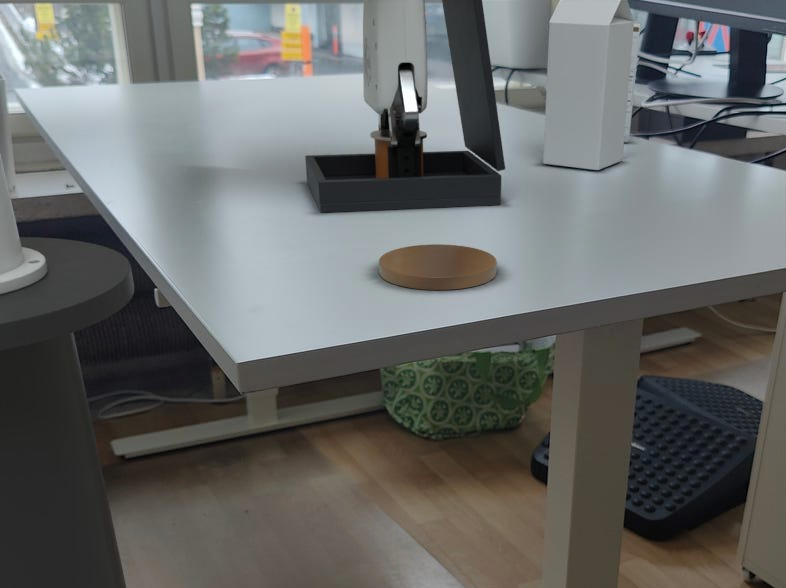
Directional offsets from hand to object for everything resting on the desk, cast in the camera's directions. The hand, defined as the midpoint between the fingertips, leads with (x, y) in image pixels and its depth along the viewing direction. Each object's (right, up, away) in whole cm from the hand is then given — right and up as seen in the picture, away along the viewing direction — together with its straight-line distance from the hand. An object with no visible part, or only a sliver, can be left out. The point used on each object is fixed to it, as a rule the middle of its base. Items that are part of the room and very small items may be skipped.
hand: (399, 180), depth 97 cm
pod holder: (0, -1, +1) cm, 1 cm away
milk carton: (+20, +7, +16) cm, 27 cm away
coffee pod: (0, 0, 0) cm, 0 cm away
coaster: (+5, -15, -23) cm, 28 cm away
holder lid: (+7, +10, -4) cm, 13 cm away
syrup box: (+24, +15, +30) cm, 42 cm away
